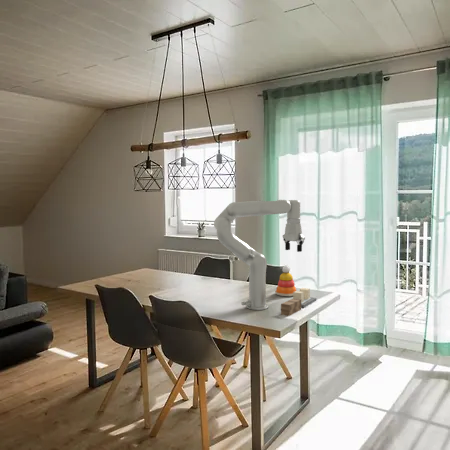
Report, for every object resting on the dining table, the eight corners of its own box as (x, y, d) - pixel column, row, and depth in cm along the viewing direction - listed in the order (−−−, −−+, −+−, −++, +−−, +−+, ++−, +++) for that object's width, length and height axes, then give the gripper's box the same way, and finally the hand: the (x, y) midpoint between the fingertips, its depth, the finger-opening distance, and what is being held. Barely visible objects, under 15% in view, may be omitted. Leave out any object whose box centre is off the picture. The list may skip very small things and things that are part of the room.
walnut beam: (289, 316, 232) (289, 305, 231) (280, 314, 234) (281, 303, 234) (301, 309, 244) (301, 299, 243) (293, 308, 247) (293, 298, 246)
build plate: (304, 307, 248) (304, 294, 247) (286, 305, 253) (286, 292, 253) (316, 300, 264) (316, 288, 264) (299, 298, 270) (299, 286, 270)
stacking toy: (279, 291, 290) (279, 262, 288) (300, 293, 283) (300, 264, 282) (271, 295, 277) (271, 265, 276) (292, 298, 270) (293, 267, 269)
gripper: (278, 220, 255) (278, 249, 256) (299, 222, 241) (299, 252, 242) (287, 220, 259) (287, 248, 260) (309, 221, 245) (308, 251, 246)
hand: (293, 250), depth 251 cm, fingers open, 9 cm apart
